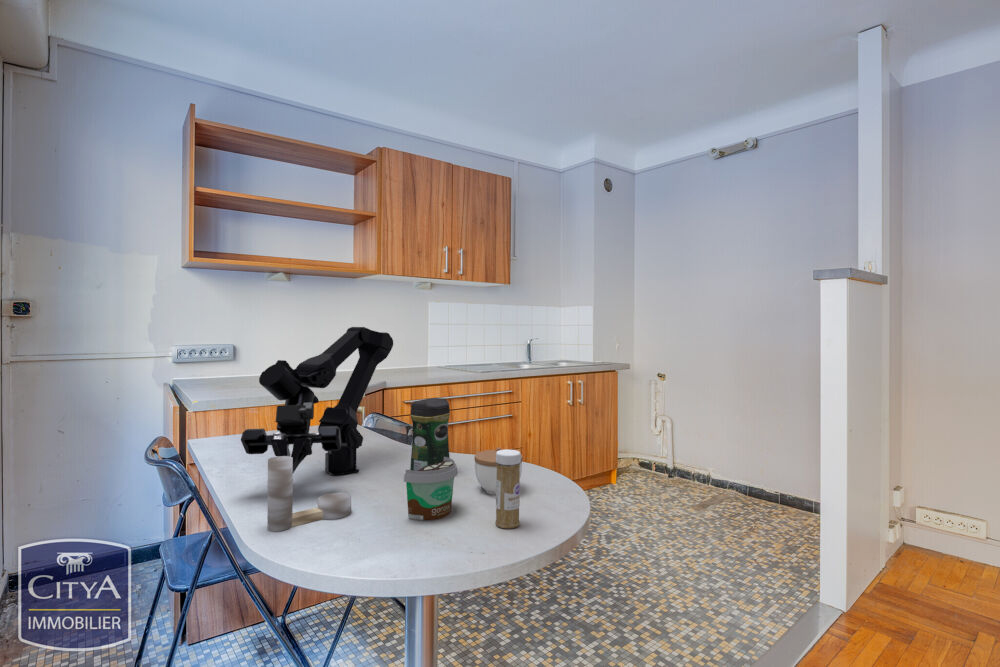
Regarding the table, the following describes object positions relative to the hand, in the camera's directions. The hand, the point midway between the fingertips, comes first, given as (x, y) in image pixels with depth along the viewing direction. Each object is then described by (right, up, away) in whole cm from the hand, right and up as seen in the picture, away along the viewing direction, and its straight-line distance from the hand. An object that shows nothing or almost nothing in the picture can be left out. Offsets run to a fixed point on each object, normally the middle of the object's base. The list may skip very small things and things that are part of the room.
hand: (287, 477), depth 100 cm
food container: (+30, -7, -3) cm, 31 cm away
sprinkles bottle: (+43, -7, -6) cm, 44 cm away
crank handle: (+7, -6, -7) cm, 11 cm away
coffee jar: (+25, -6, +25) cm, 35 cm away
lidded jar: (+41, -7, +13) cm, 44 cm away
